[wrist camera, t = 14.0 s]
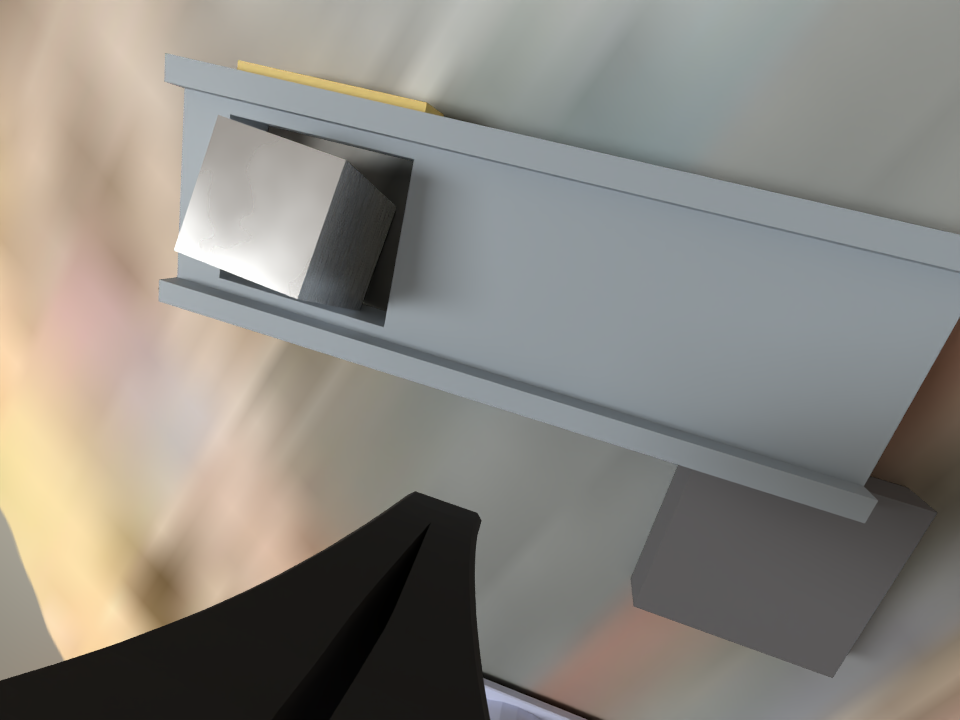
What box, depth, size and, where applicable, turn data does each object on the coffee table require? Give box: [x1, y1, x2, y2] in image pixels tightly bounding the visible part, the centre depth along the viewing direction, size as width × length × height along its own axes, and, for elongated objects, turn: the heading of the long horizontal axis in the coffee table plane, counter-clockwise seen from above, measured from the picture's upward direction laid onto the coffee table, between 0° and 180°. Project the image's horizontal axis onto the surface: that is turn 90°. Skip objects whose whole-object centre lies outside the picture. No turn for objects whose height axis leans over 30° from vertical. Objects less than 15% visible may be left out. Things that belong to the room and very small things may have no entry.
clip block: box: [174, 115, 397, 311], centre depth 16 cm, size 4×4×4 cm
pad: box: [631, 465, 937, 678], centre depth 17 cm, size 7×7×2 cm
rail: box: [159, 53, 960, 523], centre depth 16 cm, size 9×24×3 cm, turn 76°
